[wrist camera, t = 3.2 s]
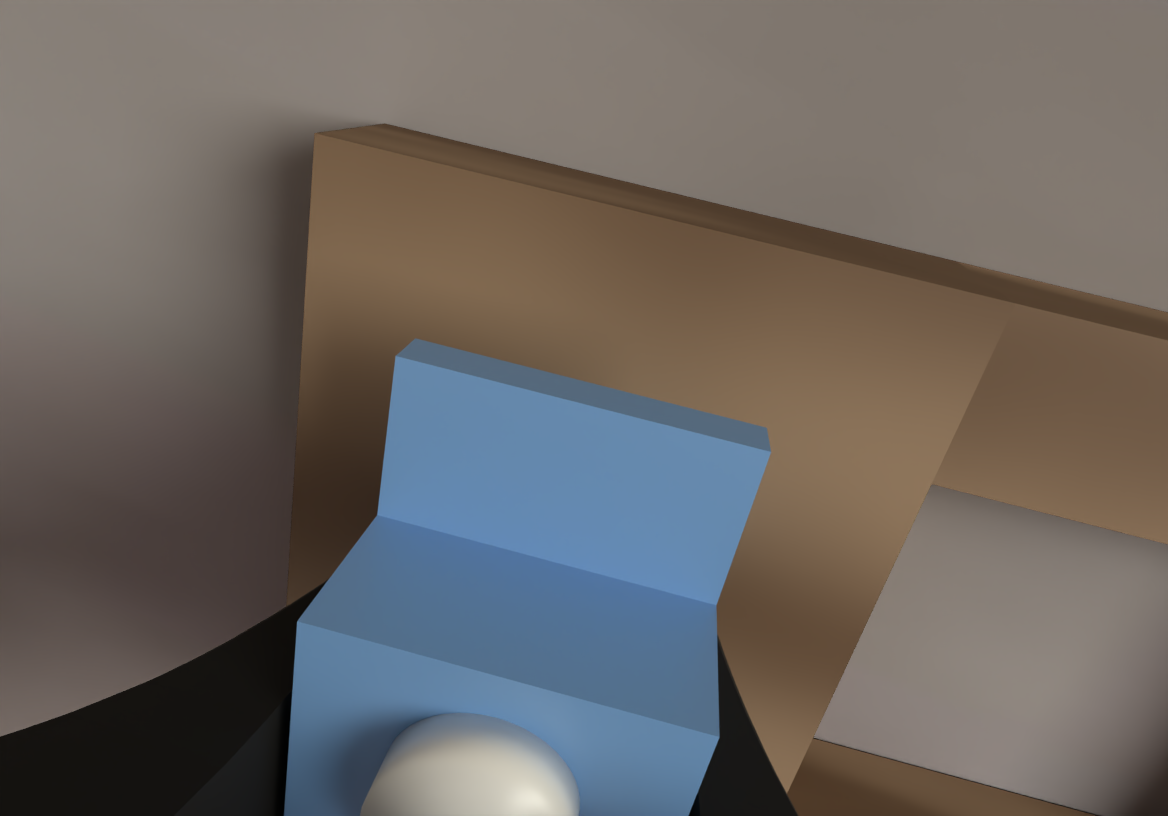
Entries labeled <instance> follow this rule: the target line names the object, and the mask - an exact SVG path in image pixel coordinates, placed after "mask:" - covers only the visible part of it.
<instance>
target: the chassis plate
mask: <svg viewBox="0 0 1168 816" xmlns="http://www.w3.org/2000/svg"><path fill="white" fill-rule="evenodd" d="M415 338H416V339H420V340H424V341H428V342H432V343H436V344H440V345H444V346H448V347H452V348H455V349H459V350H463V351H467V352H471V353H475V354H479V355H483V356H487V357H491V358H495V359H499V360H503V361H507V362H510V363H514V364H518V365H522V366H526V367H530V368H534V369H538V370H542V371H546V372H550V373H554V374H558V375H562V376H566V377H569V378H573V379H577V380H581V381H585V382H589V383H593V384H597V385H601V386H605V387H609V388H613V389H617V390H621V391H625V392H628V393H632V394H636V395H640V396H644V397H648V398H652V399H656V400H660V401H664V402H668V403H672V404H676V405H680V406H683V407H687V408H691V409H695V410H699V411H703V412H707V413H711V414H715V415H719V416H723V417H727V418H731V419H735V420H739V421H742V422H746V423H750V424H754V425H758V426H762V427H766V428H767V432H768V437H769V443H770V448H771V454H770V457H769V460H768V462H767V465H766V468H765V471H764V474H763V476H762V479H761V482H760V485H759V488H758V490H757V493H756V496H755V499H754V501H753V504H752V507H751V510H750V513H749V515H748V518H747V521H746V524H745V527H744V529H743V532H742V535H741V538H740V541H739V543H738V546H737V549H736V552H735V555H734V557H733V560H732V563H731V566H730V569H729V571H728V574H727V577H726V580H725V583H724V585H723V588H722V591H721V594H720V597H719V599H718V602H717V605H716V609H717V635H718V636H719V639H720V642H721V645H722V648H723V651H724V654H725V657H726V659H727V662H728V665H729V667H730V670H731V673H732V675H733V678H734V680H735V683H736V685H737V688H738V690H739V693H740V695H741V698H742V700H743V703H744V705H745V707H746V710H747V712H748V714H749V717H750V719H751V721H752V723H753V725H754V728H755V730H756V732H757V734H758V736H759V739H760V741H761V743H762V745H763V747H764V749H765V752H766V754H767V756H768V758H769V760H770V762H771V764H772V766H773V768H774V770H775V772H776V774H777V776H778V778H779V780H780V782H781V783H782V785H783V787H784V789H785V791H786V793H787V795H788V797H789V799H790V801H791V802H792V804H793V806H794V808H795V810H796V812H797V813H798V815H799V816H1096V815H1092V814H1088V813H1085V812H1081V811H1077V810H1074V809H1070V808H1066V807H1063V806H1059V805H1055V804H1052V803H1048V802H1044V801H1041V800H1037V799H1033V798H1030V797H1026V796H1022V795H1019V794H1015V793H1011V792H1008V791H1004V790H1000V789H997V788H993V787H989V786H986V785H982V784H978V783H975V782H971V781H967V780H964V779H960V778H956V777H953V776H949V775H945V774H942V773H938V772H934V771H931V770H927V769H923V768H920V767H916V766H912V765H909V764H905V763H901V762H898V761H894V760H890V759H887V758H883V757H879V756H876V755H872V754H868V753H865V752H861V751H857V750H854V749H850V748H846V747H843V746H839V745H835V744H832V743H828V742H824V741H821V740H817V739H813V737H814V735H815V733H816V730H817V728H818V726H819V724H820V722H821V720H822V718H823V715H824V713H825V711H826V709H827V707H828V705H829V703H830V700H831V698H832V696H833V694H834V692H835V690H836V688H837V685H838V683H839V681H840V679H841V677H842V675H843V673H844V670H845V668H846V666H847V664H848V662H849V660H850V658H851V655H852V653H853V651H854V649H855V647H856V645H857V643H858V640H859V638H860V636H861V634H862V632H863V630H864V628H865V625H866V623H867V621H868V619H869V617H870V615H871V613H872V611H873V608H874V606H875V604H876V602H877V600H878V598H879V596H880V593H881V591H882V589H883V587H884V585H885V583H886V581H887V578H888V576H889V574H890V572H891V570H892V568H893V566H894V563H895V561H896V559H897V557H898V555H899V553H900V551H901V548H902V546H903V544H904V542H905V540H906V538H907V536H908V533H909V531H910V529H911V527H912V525H913V523H914V521H915V518H916V516H917V514H918V512H919V510H920V508H921V506H922V503H923V501H924V499H925V497H926V495H927V493H928V491H929V488H930V486H931V484H933V485H937V486H941V487H945V488H949V489H953V490H957V491H961V492H965V493H969V494H973V495H976V496H980V497H984V498H988V499H992V500H996V501H1000V502H1004V503H1008V504H1012V505H1016V506H1020V507H1023V508H1027V509H1031V510H1035V511H1039V512H1043V513H1047V514H1051V515H1055V516H1059V517H1063V518H1067V519H1070V520H1074V521H1078V522H1082V523H1086V524H1090V525H1094V526H1098V527H1102V528H1106V529H1110V530H1114V531H1117V532H1121V533H1125V534H1129V535H1133V536H1137V537H1141V538H1145V539H1149V540H1153V541H1157V542H1161V543H1165V544H1168V312H1163V311H1159V310H1155V309H1151V308H1147V307H1143V306H1139V305H1134V304H1130V303H1126V302H1122V301H1118V300H1114V299H1110V298H1105V297H1101V296H1097V295H1093V294H1089V293H1085V292H1081V291H1076V290H1072V289H1068V288H1064V287H1060V286H1056V285H1052V284H1047V283H1043V282H1039V281H1035V280H1031V279H1027V278H1023V277H1018V276H1014V275H1010V274H1006V273H1002V272H998V271H994V270H989V269H985V268H981V267H977V266H973V265H969V264H964V263H960V262H956V261H952V260H948V259H944V258H940V257H935V256H931V255H927V254H923V253H919V252H915V251H911V250H906V249H902V248H898V247H894V246H890V245H886V244H882V243H877V242H873V241H869V240H865V239H861V238H857V237H853V236H848V235H844V234H840V233H836V232H832V231H828V230H824V229H819V228H815V227H811V226H807V225H803V224H799V223H795V222H790V221H786V220H782V219H778V218H774V217H770V216H765V215H761V214H757V213H753V212H749V211H745V210H741V209H736V208H732V207H728V206H724V205H720V204H716V203H712V202H707V201H703V200H699V199H695V198H691V197H687V196H683V195H678V194H674V193H670V192H666V191H662V190H658V189H654V188H649V187H645V186H641V185H637V184H633V183H629V182H625V181H620V180H616V179H612V178H608V177H604V176H600V175H596V174H591V173H587V172H583V171H579V170H575V169H571V168H566V167H562V166H558V165H554V164H550V163H546V162H542V161H537V160H533V159H529V158H525V157H521V156H517V155H513V154H508V153H504V152H500V151H496V150H492V149H488V148H484V147H479V146H475V145H471V144H467V143H463V142H459V141H455V140H450V139H446V138H442V137H438V136H434V135H430V134H426V133H421V132H417V131H413V130H409V129H405V128H401V127H397V126H392V125H388V124H380V125H372V126H365V127H357V128H350V129H342V130H335V131H327V132H320V133H315V134H314V151H313V168H312V185H311V201H310V218H309V235H308V252H307V268H306V285H305V302H304V319H303V335H302V352H301V369H300V386H299V402H298V419H297V436H296V453H295V469H294V486H293V503H292V520H291V536H290V553H289V570H288V587H287V603H286V607H287V606H288V605H290V604H291V603H293V602H294V601H296V600H297V599H299V598H301V597H302V596H304V595H305V594H307V593H308V592H310V591H311V590H313V589H314V588H316V587H317V586H319V585H320V584H322V583H323V582H325V581H326V580H328V579H329V578H330V577H331V576H332V574H333V573H334V572H335V570H336V569H337V568H338V566H339V565H340V564H341V562H342V561H343V560H344V558H345V557H346V556H347V555H348V553H349V552H350V551H351V549H352V548H353V547H354V545H355V544H356V543H357V541H358V540H359V539H360V537H361V536H362V535H363V533H364V532H365V531H366V529H367V528H368V527H369V525H370V524H371V523H372V521H373V520H374V519H375V517H376V516H377V513H378V504H379V496H380V487H381V478H382V470H383V461H384V452H385V444H386V435H387V426H388V418H389V409H390V400H391V392H392V383H393V374H394V366H395V357H396V355H397V354H398V353H400V352H401V351H402V350H403V349H404V348H405V347H406V346H407V345H408V344H410V343H411V342H412V341H413V340H414V339H415Z"/></svg>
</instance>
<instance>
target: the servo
mask: <svg viewBox="0 0 1168 816" xmlns="http://www.w3.org/2000/svg"><path fill="white" fill-rule="evenodd" d="M770 454H771V448H770V443H769V437H768V432H767V428H766V427H762V426H758V425H754V424H750V423H746V422H742V421H739V420H735V419H731V418H727V417H723V416H719V415H715V414H711V413H707V412H703V411H699V410H695V409H691V408H687V407H683V406H680V405H676V404H672V403H668V402H664V401H660V400H656V399H652V398H648V397H644V396H640V395H636V394H632V393H628V392H625V391H621V390H617V389H613V388H609V387H605V386H601V385H597V384H593V383H589V382H585V381H581V380H577V379H573V378H569V377H566V376H562V375H558V374H554V373H550V372H546V371H542V370H538V369H534V368H530V367H526V366H522V365H518V364H514V363H510V362H507V361H503V360H499V359H495V358H491V357H487V356H483V355H479V354H475V353H471V352H467V351H463V350H459V349H455V348H452V347H448V346H444V345H440V344H436V343H432V342H428V341H424V340H420V339H416V338H415V339H414V340H413V341H412V342H411V343H410V344H408V345H407V346H406V347H405V348H404V349H403V350H402V351H401V352H400V353H398V354H397V355H396V357H395V366H394V374H393V383H392V392H391V400H390V409H389V418H388V426H387V435H386V444H385V452H384V461H383V470H382V478H381V487H380V496H379V504H378V513H377V516H376V517H375V519H374V520H373V521H372V523H371V524H370V525H369V527H368V528H367V529H366V531H365V532H364V533H363V535H362V536H361V537H360V539H359V540H358V541H357V543H356V544H355V545H354V547H353V548H352V549H351V551H350V552H349V553H348V555H347V556H346V557H345V558H344V560H343V561H342V562H341V564H340V565H339V566H338V568H337V569H336V570H335V572H334V573H333V574H332V576H331V577H330V578H329V580H328V581H327V582H326V584H325V585H324V586H323V588H322V589H321V590H320V592H319V593H318V594H317V596H316V597H315V598H314V600H313V601H312V602H311V604H310V605H309V606H308V608H307V609H306V610H305V612H304V613H303V614H302V616H301V617H300V618H299V620H298V621H297V632H296V646H295V661H294V676H293V690H292V705H291V720H290V735H289V749H288V764H287V779H286V793H285V808H284V816H688V815H689V813H690V810H691V808H692V805H693V803H694V800H695V798H696V795H697V793H698V790H699V788H700V785H701V783H702V780H703V778H704V775H705V772H706V770H707V767H708V765H709V762H710V760H711V757H712V755H713V752H714V750H715V747H716V745H717V742H718V740H719V694H718V652H717V609H716V605H717V602H718V599H719V597H720V594H721V591H722V588H723V585H724V583H725V580H726V577H727V574H728V571H729V569H730V566H731V563H732V560H733V557H734V555H735V552H736V549H737V546H738V543H739V541H740V538H741V535H742V532H743V529H744V527H745V524H746V521H747V518H748V515H749V513H750V510H751V507H752V504H753V501H754V499H755V496H756V493H757V490H758V488H759V485H760V482H761V479H762V476H763V474H764V471H765V468H766V465H767V462H768V460H769V457H770Z"/></svg>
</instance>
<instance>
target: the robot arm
mask: <svg viewBox="0 0 1168 816" xmlns="http://www.w3.org/2000/svg"><path fill="white" fill-rule="evenodd" d="M328 580H329V579H328ZM328 580H326V581H325V582H323V583H322V584H320V585H319V586H317V587H316V588H314V589H313V590H311V591H310V592H308V593H307V594H305V595H304V596H302V597H301V598H299V599H297V600H296V601H294V602H293V603H291V604H290V605H288V606H287V607H285V608H284V609H282V610H280V611H279V612H277V613H276V614H274V615H272V616H271V617H269V618H267V619H265V620H264V621H262V622H260V623H259V624H257V625H255V626H253V627H252V628H250V629H248V630H247V631H245V632H243V633H241V634H240V635H238V636H236V637H235V638H233V639H231V640H229V641H228V642H226V643H224V644H222V645H220V646H218V647H217V648H215V649H213V650H211V651H209V652H207V653H205V654H203V655H201V656H199V657H197V658H196V659H194V660H192V661H190V662H188V663H186V664H183V665H181V666H179V667H177V668H175V669H173V670H171V671H169V672H167V673H165V674H163V675H161V676H159V677H156V678H154V679H152V680H150V681H147V682H145V683H143V684H140V685H138V686H135V687H133V688H130V689H128V690H126V691H123V692H121V693H118V694H116V695H113V696H111V697H108V698H106V699H103V700H101V701H98V702H96V703H93V704H91V705H89V706H86V707H84V708H81V709H79V710H76V711H74V712H71V713H68V714H65V715H63V716H60V717H57V718H54V719H51V720H48V721H46V722H43V723H40V724H37V725H34V726H31V727H29V728H26V729H23V730H19V731H16V732H13V733H10V734H7V735H4V736H1V737H0V816H284V808H285V793H286V779H287V764H288V749H289V735H290V720H291V705H292V690H293V676H294V661H295V646H296V632H297V621H298V620H299V618H300V617H301V616H302V614H303V613H304V612H305V610H306V609H307V608H308V606H309V605H310V604H311V602H312V601H313V600H314V598H315V597H316V596H317V594H318V593H319V592H320V590H321V589H322V588H323V586H324V585H325V584H326V582H327V581H328ZM717 652H718V694H719V740H718V742H717V745H716V747H715V750H714V752H713V755H712V757H711V760H710V762H709V765H708V767H707V770H706V772H705V775H704V778H703V780H702V783H701V785H700V788H699V790H698V793H697V795H696V798H695V800H694V803H693V805H692V808H691V810H690V813H689V815H688V816H799V815H798V813H797V812H796V810H795V808H794V806H793V804H792V802H791V801H790V799H789V797H788V795H787V793H786V791H785V789H784V787H783V785H782V783H781V782H780V780H779V778H778V776H777V774H776V772H775V770H774V768H773V766H772V764H771V762H770V760H769V758H768V756H767V754H766V752H765V749H764V747H763V745H762V743H761V741H760V739H759V736H758V734H757V732H756V730H755V728H754V725H753V723H752V721H751V719H750V717H749V714H748V712H747V710H746V707H745V705H744V703H743V700H742V698H741V695H740V693H739V690H738V688H737V685H736V683H735V680H734V678H733V675H732V673H731V670H730V667H729V665H728V662H727V659H726V657H725V654H724V651H723V648H722V645H721V642H720V639H719V636H718V635H717Z"/></svg>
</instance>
